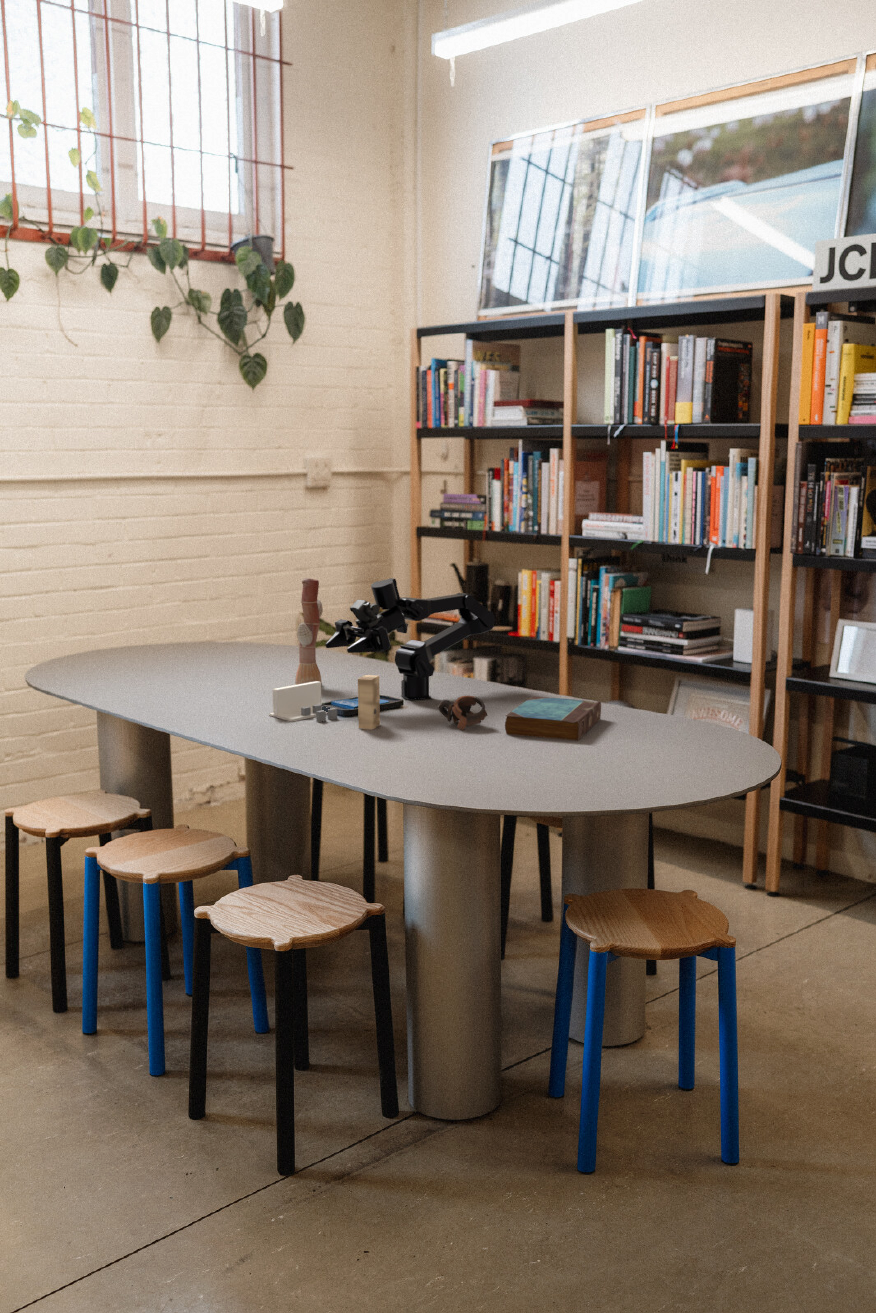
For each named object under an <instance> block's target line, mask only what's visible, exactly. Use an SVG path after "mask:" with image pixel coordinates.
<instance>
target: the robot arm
mask: <svg viewBox="0 0 876 1313" xmlns="http://www.w3.org/2000/svg"><path fill="white" fill-rule="evenodd" d="M397 584H398V582H397V579H396V578H393V577H392V578H391V577H390V578H388V579H382V580H379V581H378V580H377V581H375V582H373V583H372V584H371V585H370V588H371V591H372V595H373V598H374V603H373V602H372V603H371V602H369V601H367V600H363V599H357V600H355V602H354V603H353V604H352V605H351V606H350V607H349V611H350V612H352V614H353V616H355V618H356V620H355V625H356V626H354V625H353V622H352V621H350V620H347V619H342V618H340V619H338V620H336V621H334V625H335V626H334V628H335V632H334V633H333V635H332V636H331V637H330V638H329V639H328V640H327V641H326V642H325V644H324V646H325V649H335V648H343V647H347V648H346V651H347V653H348V654H354V653H355V654H356V653H380V652H381V653H385V652H387V651H388V650H390V647H391V641H390V635H389V634H391V633H393V632H394V631H396V632H397V633H400V634H407V633H408V627H409V624H408V623H407V622H406V620H407V621H413V622H420V621H422V620H425V619H428V618H429V617H430V616H431V615H433V614H438V613H439V614H440V613H444V612H450V611H455V610H457V611H458V614H459V616H460V618H459V621H458V622H456V623H454V624H453V625H451V626H449V627H448V628H446V629H444V630H442V631H439V633H437V634H435V635H432V637H430V638H428V639H425V641H421V640H415V639H410V640H408V641H407V642H406V643H404V644H400V645H399V648H398V649H397V650H396V651H395V655H394V663H395V666H396V667H397V669H398V673H399V674H401V675H402V677H403V678H402V679H401V681H400V682H401V687H400V688H401V689H400V692H401V695H400V696H401V697H402V698H404V699H406V700H408V701H416V700H418V701H419V700H431V699H432V696H431V695H430V677H433V676H434V672H435V666H433V665H432V663H431V661H432V659H433V657H435V656H436V655H438V654H440V653H442V652H443V651H445V650H446V649H449V648H450V647H452V646H454V645H456V644H457V643H460V642H461V641H462V640H465V638H468V637H469V636H473V635H479V634H480V635H481V634H484V633H487V632H490V631H492V630H493V629H494V628H495V624H496V617H495V614H494V612H493V611H491V610H490V609H488V608H487V607H486V606H485V605H483V604H482V603H480V602H479V601H478V600H476V598H475V597H474V596H473V595H471V594H470V593H463V592H457V593H455V594H448V595H443V596H437V597H430V598H420V597H419V598H418V597H401V596H400V592H399V589H398V585H397ZM380 610H382V612H380ZM379 612H380V613H379ZM357 638H360V639H359V640H357ZM356 640H357V641H356Z"/></svg>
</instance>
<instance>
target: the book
mask: <svg viewBox="0 0 876 1313" xmlns="http://www.w3.org/2000/svg"><path fill="white" fill-rule="evenodd" d="M601 716H602V702H601V701H600V700H599V701H596V702H595V701H591V700H584V699H576V698H574V699H572V698H561V697H560V698H559V697H549V696H548V697H547V696H534V695H533V696H531V697H530V698H528V699H527V700H526V701H524V702H523V703H521V704H519V705H518V706H517V707H516V708H514V709H513V710H512V711H511V710H510V712H509V713H507V714H506V715H505V717H506V719H505V722H504V728H505V733H506V735H511V736H522V737H534V738H535V737H536V738H546V739H557V740H559V739H560V740H569V741H577V742H578V741H579V740H580V739H581V738H582V737H583V736H585V734H586V733H587V732H589V731H590V730H591V728H593V727H594V726H595V725H596V724H597V723H598V722H599V721H600V720H601Z"/></svg>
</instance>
